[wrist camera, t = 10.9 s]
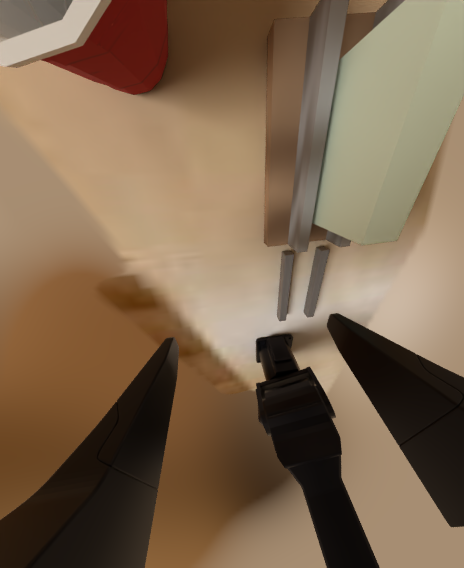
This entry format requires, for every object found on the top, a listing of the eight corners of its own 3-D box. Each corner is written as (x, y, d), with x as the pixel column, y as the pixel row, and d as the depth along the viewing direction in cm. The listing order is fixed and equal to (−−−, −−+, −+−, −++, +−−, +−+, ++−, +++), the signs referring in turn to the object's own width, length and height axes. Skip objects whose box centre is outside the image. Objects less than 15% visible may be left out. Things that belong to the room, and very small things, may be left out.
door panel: (326, 216, 18) (396, 240, 11) (303, 219, 17) (361, 245, 11) (355, 71, 12) (534, -59, 5) (323, 73, 12) (465, -55, 5)
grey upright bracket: (309, 311, 27) (313, 316, 26) (276, 315, 27) (279, 321, 26) (323, 246, 21) (329, 249, 20) (282, 251, 21) (285, 255, 20)
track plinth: (344, 232, 20) (371, 243, 17) (264, 242, 20) (274, 255, 17) (402, 26, 12) (474, -31, 9) (267, 36, 12) (290, -20, 8)
